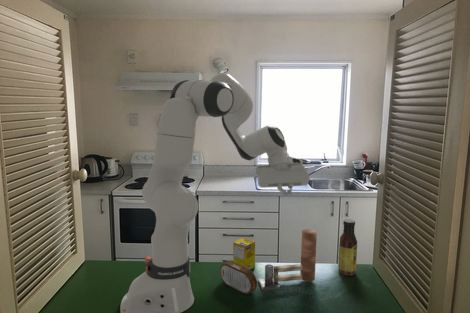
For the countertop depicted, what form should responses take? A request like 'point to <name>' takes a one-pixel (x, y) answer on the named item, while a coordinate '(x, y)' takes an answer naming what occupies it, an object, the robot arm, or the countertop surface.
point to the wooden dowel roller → (306, 260)
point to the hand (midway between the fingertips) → (287, 195)
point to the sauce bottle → (348, 249)
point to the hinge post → (268, 280)
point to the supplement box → (244, 253)
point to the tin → (238, 277)
